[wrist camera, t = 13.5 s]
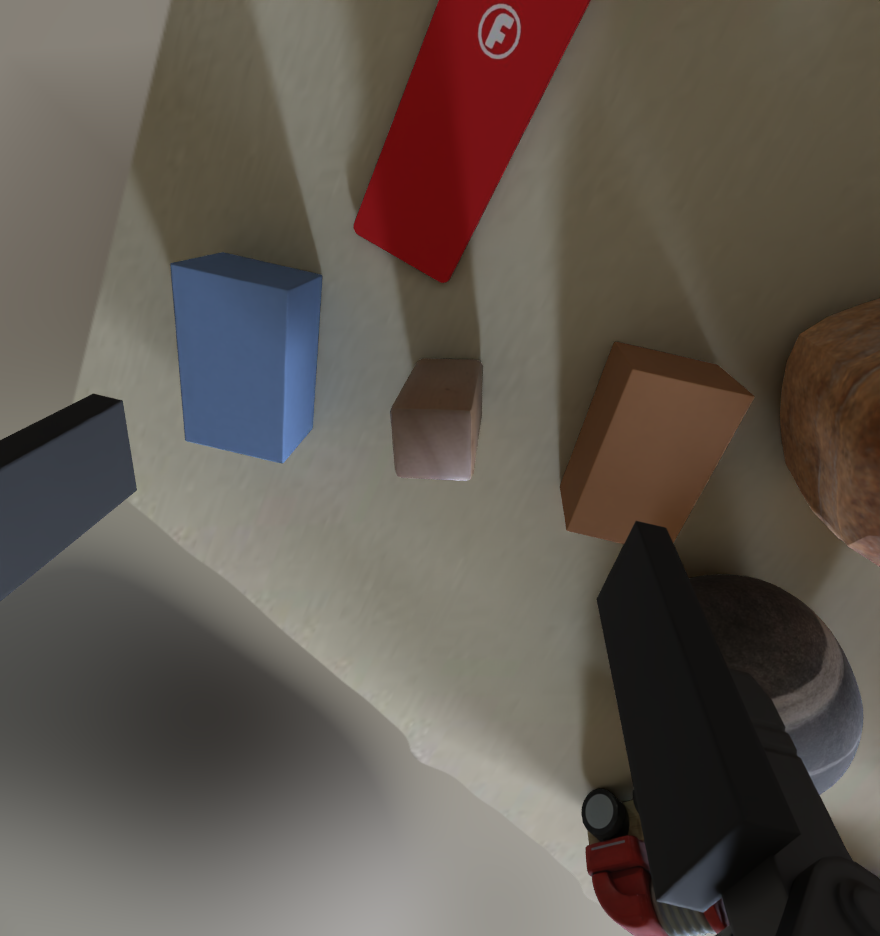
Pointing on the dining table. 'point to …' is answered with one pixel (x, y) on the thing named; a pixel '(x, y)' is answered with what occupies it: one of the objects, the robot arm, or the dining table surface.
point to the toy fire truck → (634, 874)
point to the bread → (837, 423)
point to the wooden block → (438, 420)
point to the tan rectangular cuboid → (649, 442)
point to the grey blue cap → (789, 667)
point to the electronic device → (461, 124)
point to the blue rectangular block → (246, 353)
